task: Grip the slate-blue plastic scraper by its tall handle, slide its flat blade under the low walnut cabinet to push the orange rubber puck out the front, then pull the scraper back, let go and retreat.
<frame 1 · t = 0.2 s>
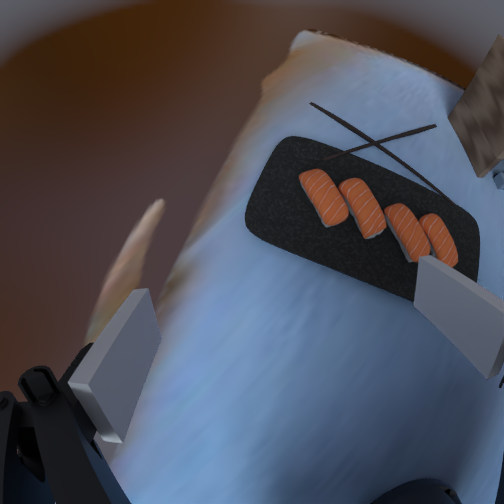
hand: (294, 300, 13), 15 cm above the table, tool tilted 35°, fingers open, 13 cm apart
sushi plate: (388, 177, 34), on the table
cabinet: (493, 150, 35), on the table
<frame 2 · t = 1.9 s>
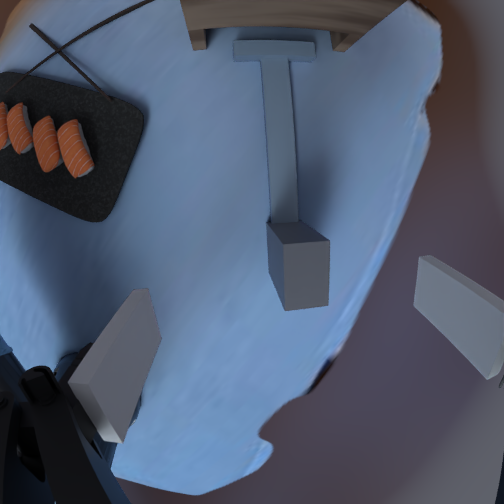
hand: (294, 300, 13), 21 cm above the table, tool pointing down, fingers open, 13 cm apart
sushi plate: (66, 81, 26), on the table
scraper: (284, 246, 34), on the table
cabinet: (267, 8, 26), on the table
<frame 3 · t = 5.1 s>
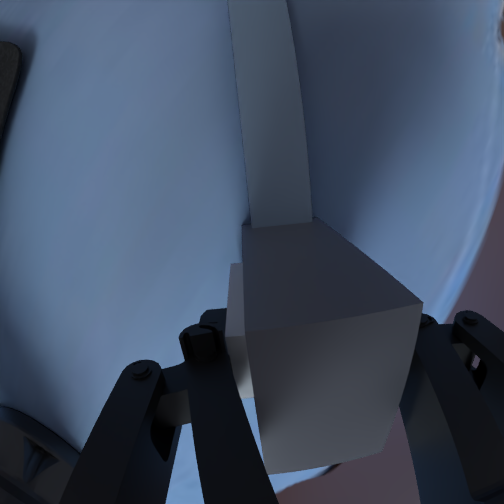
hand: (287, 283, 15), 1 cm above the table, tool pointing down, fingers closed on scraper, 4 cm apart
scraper: (284, 274, 16), on the table, touching gripper
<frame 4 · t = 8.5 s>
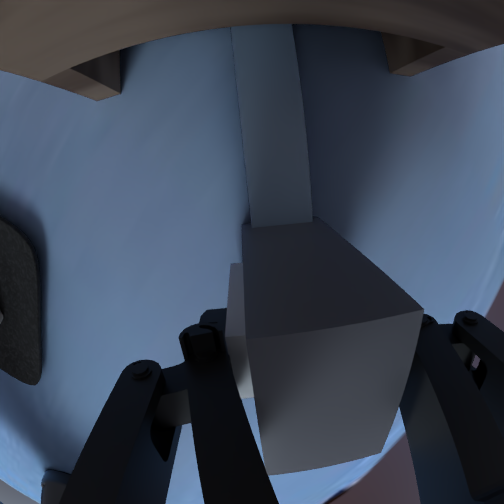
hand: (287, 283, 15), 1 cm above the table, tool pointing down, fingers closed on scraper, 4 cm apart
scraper: (284, 274, 16), on the table, touching gripper, puck
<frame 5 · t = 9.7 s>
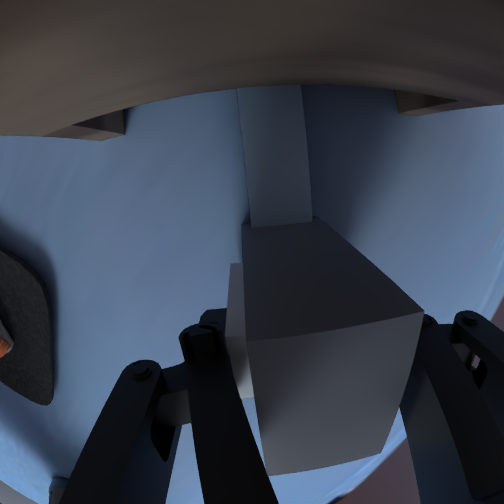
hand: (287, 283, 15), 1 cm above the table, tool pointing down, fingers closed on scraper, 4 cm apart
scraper: (283, 273, 16), on the table, touching gripper
cabinet: (255, 14, 12), on the table
when the fingers open (1 cm above the table, at t = 12.3 s): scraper stays where it is, on the table.
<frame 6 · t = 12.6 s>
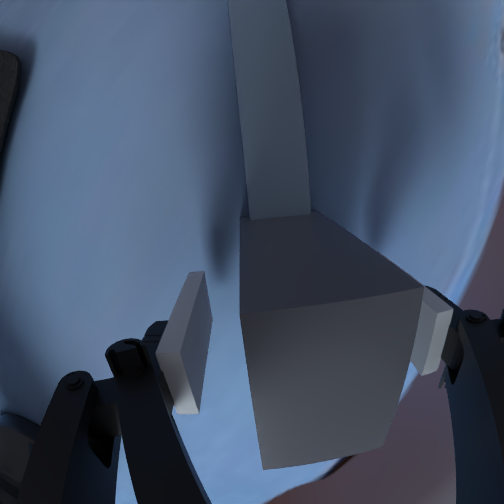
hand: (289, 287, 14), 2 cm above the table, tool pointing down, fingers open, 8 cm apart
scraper: (282, 267, 16), on the table
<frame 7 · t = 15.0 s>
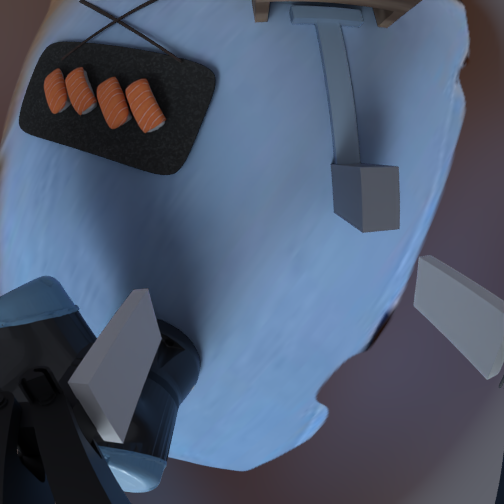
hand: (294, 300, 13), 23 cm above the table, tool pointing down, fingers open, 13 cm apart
sushi plate: (127, 48, 29), on the table
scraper: (347, 187, 34), on the table
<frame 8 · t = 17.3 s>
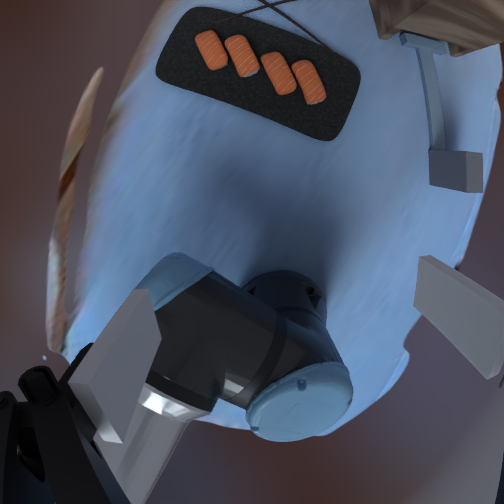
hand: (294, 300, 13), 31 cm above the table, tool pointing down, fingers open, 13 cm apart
sushi plate: (278, 31, 35), on the table
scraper: (437, 167, 41), on the table
cabinet: (414, 20, 33), on the table
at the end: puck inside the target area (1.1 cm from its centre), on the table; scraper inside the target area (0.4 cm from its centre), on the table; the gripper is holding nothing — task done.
